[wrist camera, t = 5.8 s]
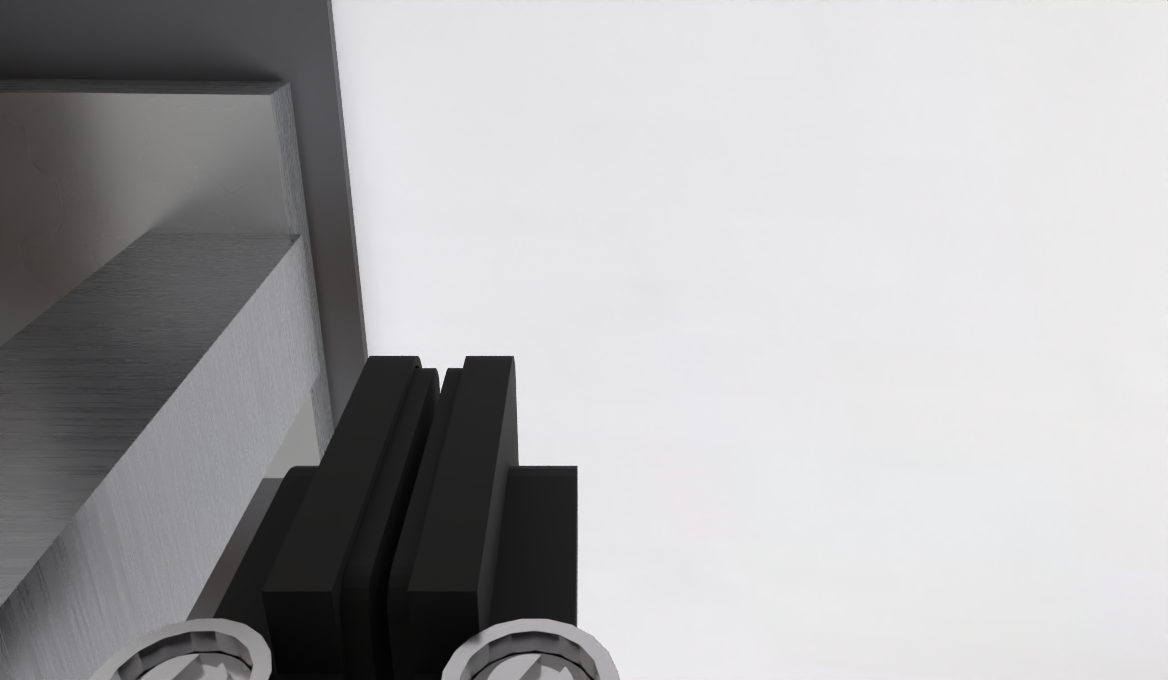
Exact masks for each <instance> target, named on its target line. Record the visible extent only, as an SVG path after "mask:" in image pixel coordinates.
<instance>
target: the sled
mask: <svg viewBox="0 0 1168 680" xmlns="http://www.w3.org/2000/svg"><path fill="white" fill-rule="evenodd" d="M333 433H334V428H333V420H332V412H331V405H330V397H329V389H328V381H327V373H326V365H325V357H324V349H323V341H322V333H321V325H320V317H319V309H318V302H317V294H316V286H315V278H314V270H313V262H312V254H311V246H310V238H309V230H308V222H307V214H306V206H305V198H304V191H303V183H302V175H301V167H300V159H299V151H298V143H297V135H296V127H295V119H294V111H293V103H292V95H291V87H290V82H246V81H154V80H63V79H0V680H89V679H90V678H91V677H92V676H93V675H94V673H95V672H96V671H97V670H98V669H99V668H100V667H101V666H102V665H103V664H104V663H105V662H106V661H107V660H108V659H109V658H110V657H112V656H113V655H114V654H115V653H116V652H117V651H118V650H120V649H122V648H123V647H125V646H126V645H128V644H129V643H131V642H133V641H134V640H136V639H137V638H139V637H140V636H142V635H145V634H147V633H150V632H152V631H155V630H157V629H159V628H162V627H164V626H167V625H169V624H174V623H179V622H184V621H186V619H187V617H188V615H189V614H190V612H191V610H192V608H193V606H194V604H195V603H196V601H197V599H198V597H199V595H200V593H201V591H202V590H203V588H204V586H205V584H206V582H207V580H208V578H209V577H210V575H211V573H212V571H213V569H214V567H215V566H216V564H217V562H218V560H219V558H220V556H221V554H222V553H223V551H224V549H225V547H226V545H227V543H228V542H229V540H230V538H231V536H232V534H233V532H234V530H235V529H236V527H237V525H238V523H239V521H240V519H241V517H242V516H243V514H244V512H245V510H246V508H247V506H248V505H249V503H250V501H251V499H252V497H253V495H254V493H255V492H256V490H257V488H258V486H259V484H260V482H261V480H262V479H263V478H284V476H285V475H286V473H287V472H288V471H289V469H290V468H292V467H294V466H319V464H320V462H321V460H322V457H323V455H324V453H325V451H326V449H327V446H328V444H329V442H330V440H331V438H332V436H333Z"/></svg>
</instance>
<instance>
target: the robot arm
mask: <svg viewBox="0 0 1168 680" xmlns="http://www.w3.org/2000/svg"><path fill="white" fill-rule="evenodd" d="M577 554H578V493H577V466H519V462H518V433H517V404H516V375H515V361H514V356H466V358H465V362H464V366H463V368H448V369H447V372H446V375H445V379H444V382H443V386H442V389H441V393H440V386H439V376H438V371H437V369H436V368H422V365H421V361H420V358H419V357H418V356H369V358H368V359H367V361H366V363H365V366H364V368H363V370H362V372H361V374H360V377H359V379H358V381H357V383H356V385H355V387H354V390H353V392H352V394H351V396H350V398H349V401H348V403H347V405H346V407H345V409H344V412H343V414H342V416H341V418H340V420H339V422H338V425H337V427H336V429H335V431H334V433H333V436H332V438H331V440H330V442H329V444H328V446H327V449H326V451H325V453H324V455H323V457H322V460H321V462H320V464H319V466H294V467H292V468H290V469H289V471H288V472H287V473H286V475H285V476H284V478H283V480H282V482H281V484H280V486H279V488H278V490H277V492H276V494H275V496H274V498H273V500H272V502H271V504H270V506H269V508H268V510H267V512H266V514H265V516H264V518H263V520H262V522H261V524H260V526H259V528H258V530H257V532H256V534H255V536H254V538H253V540H252V541H251V543H250V545H249V547H248V549H247V551H246V553H245V555H244V557H243V559H242V561H241V563H240V565H239V567H238V569H237V571H236V573H235V575H234V577H233V579H232V581H231V583H230V585H229V587H228V589H227V591H226V593H225V595H224V597H223V599H222V601H221V603H220V605H219V607H218V609H217V610H216V612H215V614H214V616H213V618H212V619H193V620H188V621H184V622H179V623H174V624H169V625H167V626H164V627H162V628H159V629H157V630H155V631H152V632H150V633H147V634H145V635H142V636H140V637H139V638H137V639H136V640H134V641H133V642H131V643H129V644H128V645H126V646H125V647H123V648H122V649H120V650H118V651H117V652H116V653H115V654H114V655H113V656H112V657H110V658H109V659H108V660H107V661H106V662H105V663H104V664H103V665H102V666H101V667H100V668H99V669H98V670H97V671H96V672H95V673H94V675H93V676H92V677H91V678H90V679H89V680H620V678H619V674H618V671H617V669H616V667H615V664H614V662H613V660H612V658H611V656H610V654H609V652H608V651H607V650H606V649H605V648H604V647H603V646H602V645H601V644H600V643H599V642H598V641H597V640H596V639H595V638H594V637H593V636H592V635H590V634H588V633H586V632H584V631H582V630H581V629H579V628H577Z"/></svg>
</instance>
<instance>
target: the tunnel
mask: <svg viewBox="0 0 1168 680" xmlns="http://www.w3.org/2000/svg"><path fill="white" fill-rule="evenodd" d="M0 79H63V80H154V81H246V82H290V87H291V95H292V103H293V111H294V119H295V127H296V135H297V143H298V151H299V159H300V167H301V175H302V183H303V191H304V198H305V206H306V214H307V222H308V230H309V238H310V246H311V254H312V262H313V270H314V278H315V286H316V294H317V302H318V309H319V317H320V325H321V333H322V341H323V349H324V357H325V365H326V373H327V381H328V389H329V397H330V405H331V412H332V420H333V428H334V431H335V429H336V427H337V425H338V422H339V420H340V418H341V416H342V414H343V412H344V409H345V407H346V405H347V403H348V401H349V398H350V396H351V394H352V392H353V390H354V387H355V385H356V383H357V381H358V379H359V377H360V374H361V372H362V370H363V368H364V366H365V363H366V361H367V359H368V354H367V344H366V334H365V324H364V315H363V305H362V295H361V286H360V276H359V266H358V256H357V247H356V237H355V227H354V218H353V208H352V198H351V188H350V179H349V169H348V159H347V150H346V140H345V130H344V120H343V111H342V101H341V91H340V82H339V72H338V62H337V52H336V43H335V33H334V23H333V14H332V4H331V0H0ZM282 480H283V478H263V479H262V480H261V482H260V484H259V486H258V488H257V490H256V492H255V493H254V495H253V497H252V499H251V501H250V503H249V505H248V506H247V508H246V510H245V512H244V514H243V516H242V517H241V519H240V521H239V523H238V525H237V527H236V529H235V530H234V532H233V534H232V536H231V538H230V540H229V542H228V543H227V545H226V547H225V549H224V551H223V553H222V554H221V556H220V558H219V560H218V562H217V564H216V566H215V567H214V569H213V571H212V573H211V575H210V577H209V578H208V580H207V582H206V584H205V586H204V588H203V590H202V591H201V593H200V595H199V597H198V599H197V601H196V603H195V604H194V606H193V608H192V610H191V612H190V614H189V615H188V617H187V619H186V621H188V620H193V619H212V618H213V616H214V614H215V612H216V610H217V609H218V607H219V605H220V603H221V601H222V599H223V597H224V595H225V593H226V591H227V589H228V587H229V585H230V583H231V581H232V579H233V577H234V575H235V573H236V571H237V569H238V567H239V565H240V563H241V561H242V559H243V557H244V555H245V553H246V551H247V549H248V547H249V545H250V543H251V541H252V540H253V538H254V536H255V534H256V532H257V530H258V528H259V526H260V524H261V522H262V520H263V518H264V516H265V514H266V512H267V510H268V508H269V506H270V504H271V502H272V500H273V498H274V496H275V494H276V492H277V490H278V488H279V486H280V484H281V482H282Z"/></svg>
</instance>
